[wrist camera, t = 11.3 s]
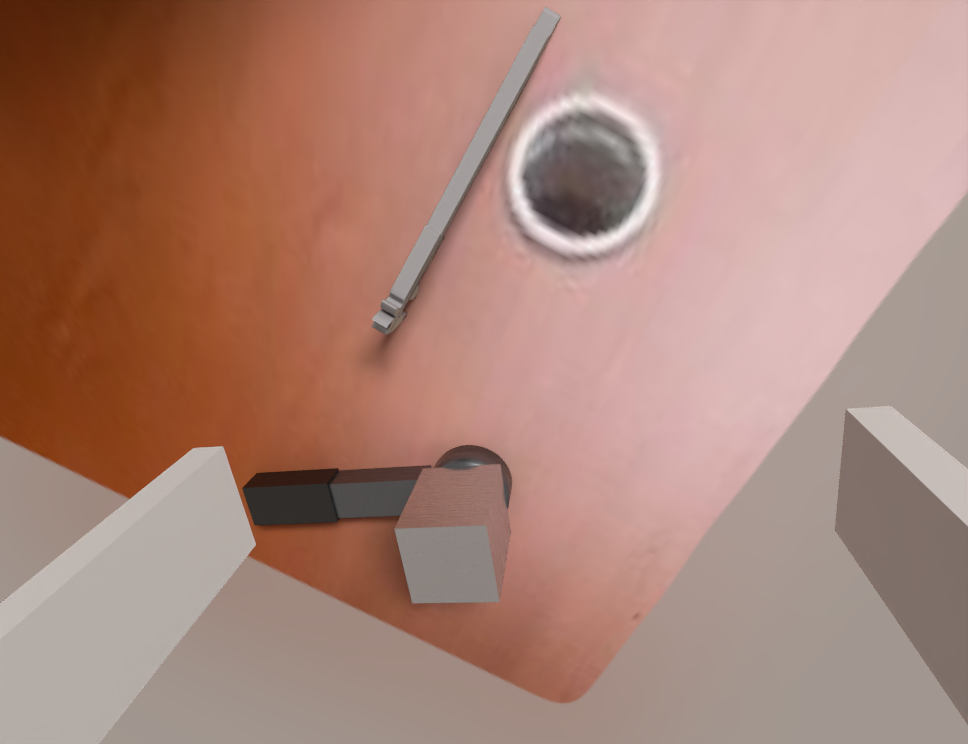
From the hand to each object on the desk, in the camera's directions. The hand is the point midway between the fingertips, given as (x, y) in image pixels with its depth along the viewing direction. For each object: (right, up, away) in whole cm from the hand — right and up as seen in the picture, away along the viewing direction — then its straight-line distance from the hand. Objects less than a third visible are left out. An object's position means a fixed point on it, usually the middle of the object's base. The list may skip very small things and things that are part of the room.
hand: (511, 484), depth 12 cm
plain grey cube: (-2, -7, +29) cm, 30 cm away
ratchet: (-9, -6, +32) cm, 34 cm away
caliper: (-2, +14, +24) cm, 28 cm away
